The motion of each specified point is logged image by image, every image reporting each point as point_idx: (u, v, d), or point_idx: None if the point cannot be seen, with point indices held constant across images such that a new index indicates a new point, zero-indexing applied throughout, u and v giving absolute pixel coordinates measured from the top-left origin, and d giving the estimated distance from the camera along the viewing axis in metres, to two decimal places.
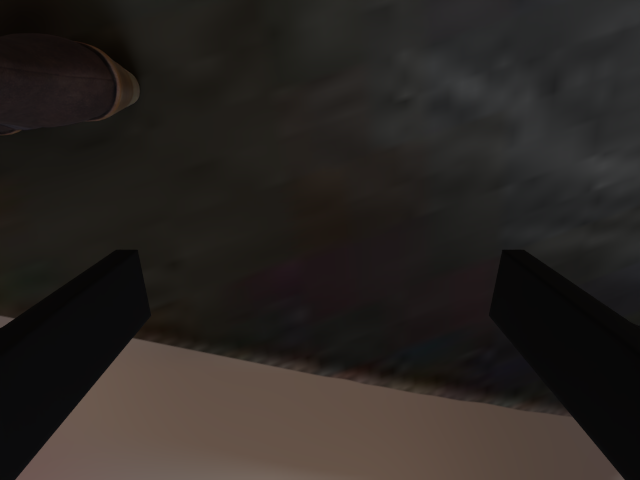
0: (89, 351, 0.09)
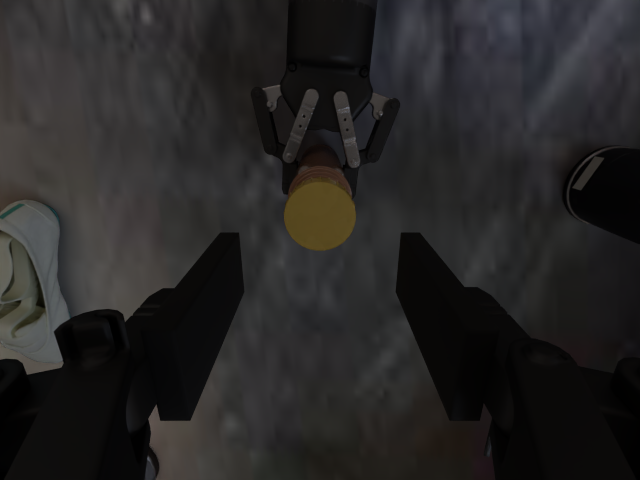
0: (220, 314, 0.11)
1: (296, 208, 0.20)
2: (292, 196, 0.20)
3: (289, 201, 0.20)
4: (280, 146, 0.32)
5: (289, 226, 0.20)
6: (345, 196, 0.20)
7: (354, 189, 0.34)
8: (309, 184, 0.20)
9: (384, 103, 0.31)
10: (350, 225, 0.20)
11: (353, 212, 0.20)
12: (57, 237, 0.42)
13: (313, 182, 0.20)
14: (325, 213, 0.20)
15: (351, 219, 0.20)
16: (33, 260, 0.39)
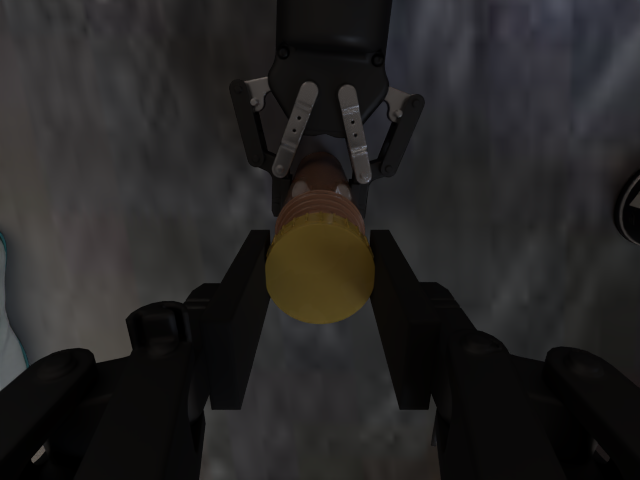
0: (258, 309, 0.11)
1: (283, 263, 0.13)
2: (276, 245, 0.12)
3: (272, 253, 0.13)
4: (269, 156, 0.25)
5: (272, 289, 0.13)
6: (360, 245, 0.12)
7: (363, 210, 0.27)
8: (303, 227, 0.12)
9: (403, 101, 0.24)
10: (367, 288, 0.13)
11: (372, 269, 0.13)
12: (2, 263, 0.35)
13: (309, 224, 0.12)
14: (328, 270, 0.13)
15: (369, 279, 0.13)
16: None
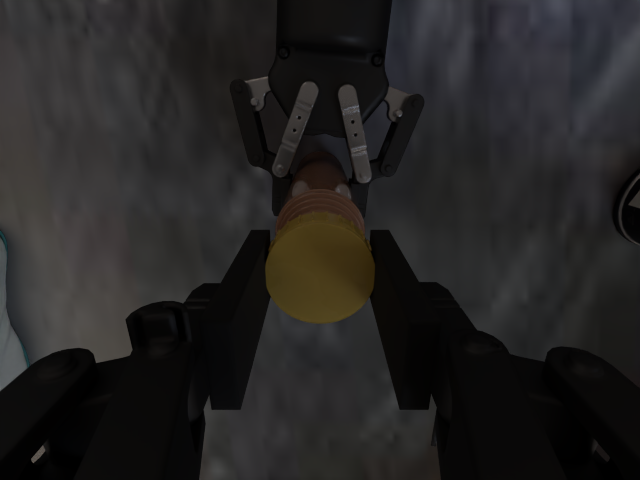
0: (258, 309, 0.11)
1: (317, 310, 0.13)
2: (302, 319, 0.14)
3: (311, 321, 0.14)
4: (269, 156, 0.25)
5: (348, 311, 0.14)
6: (274, 253, 0.13)
7: (363, 210, 0.27)
8: (277, 303, 0.13)
9: (403, 100, 0.24)
10: (316, 229, 0.12)
11: (294, 232, 0.12)
12: (3, 263, 0.35)
13: (273, 298, 0.13)
14: (310, 271, 0.13)
15: (306, 232, 0.12)
16: None
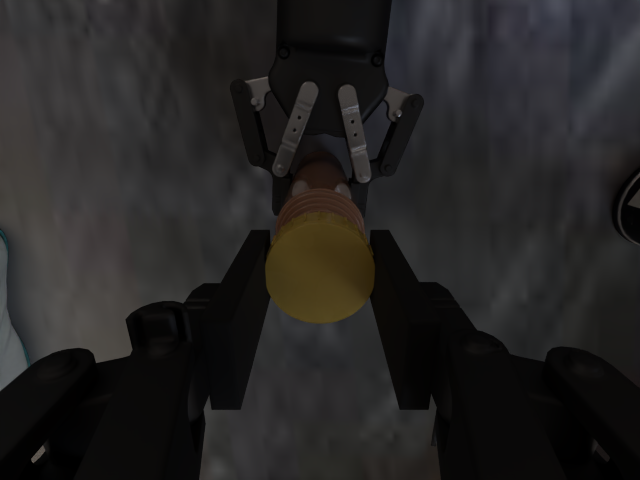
0: (258, 309, 0.11)
1: (358, 267, 0.13)
2: (373, 277, 0.13)
3: (373, 269, 0.13)
4: (269, 155, 0.25)
5: (350, 237, 0.12)
6: (310, 319, 0.14)
7: (363, 209, 0.27)
8: (362, 303, 0.13)
9: (403, 100, 0.24)
10: (275, 293, 0.13)
11: (285, 309, 0.13)
12: (4, 262, 0.35)
13: None
14: (317, 285, 0.13)
15: (280, 301, 0.13)
16: None
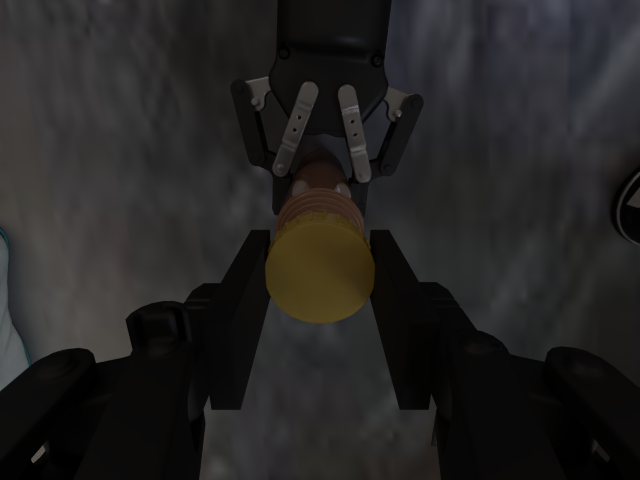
0: (258, 309, 0.11)
1: (297, 246, 0.12)
2: (302, 228, 0.12)
3: (294, 232, 0.12)
4: (269, 155, 0.26)
5: (271, 263, 0.13)
6: (371, 270, 0.13)
7: (363, 209, 0.27)
8: (336, 226, 0.12)
9: (402, 100, 0.24)
10: (351, 308, 0.13)
11: (367, 295, 0.13)
12: (5, 262, 0.35)
13: (342, 227, 0.12)
14: (330, 275, 0.13)
15: (358, 302, 0.13)
16: None
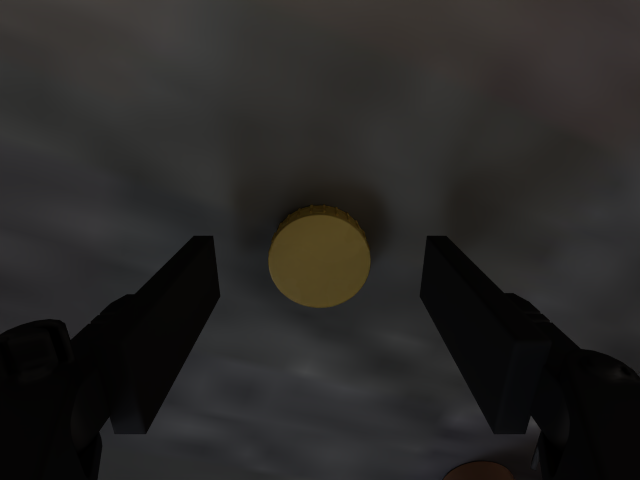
0: (188, 321, 0.11)
1: (298, 236, 0.14)
2: (303, 219, 0.13)
3: (295, 222, 0.13)
4: None
5: (274, 251, 0.14)
6: (366, 258, 0.14)
7: None
8: (334, 218, 0.13)
9: None
10: (348, 293, 0.15)
11: (362, 281, 0.14)
12: None
13: (340, 218, 0.14)
14: (329, 263, 0.14)
15: (354, 287, 0.15)
16: None
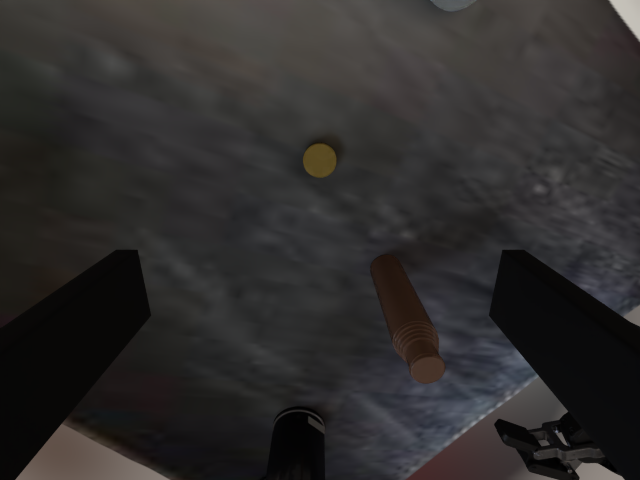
0: (89, 351, 0.09)
1: (313, 151, 0.43)
2: (314, 145, 0.43)
3: (312, 146, 0.43)
4: None
5: (305, 156, 0.43)
6: (335, 158, 0.43)
7: (511, 445, 0.34)
8: (324, 144, 0.43)
9: (572, 467, 0.36)
10: (329, 172, 0.44)
11: (334, 167, 0.44)
12: None
13: (326, 145, 0.43)
14: (323, 160, 0.44)
15: (331, 169, 0.44)
16: None
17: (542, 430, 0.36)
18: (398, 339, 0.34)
